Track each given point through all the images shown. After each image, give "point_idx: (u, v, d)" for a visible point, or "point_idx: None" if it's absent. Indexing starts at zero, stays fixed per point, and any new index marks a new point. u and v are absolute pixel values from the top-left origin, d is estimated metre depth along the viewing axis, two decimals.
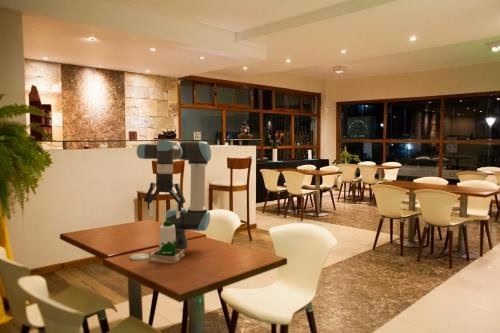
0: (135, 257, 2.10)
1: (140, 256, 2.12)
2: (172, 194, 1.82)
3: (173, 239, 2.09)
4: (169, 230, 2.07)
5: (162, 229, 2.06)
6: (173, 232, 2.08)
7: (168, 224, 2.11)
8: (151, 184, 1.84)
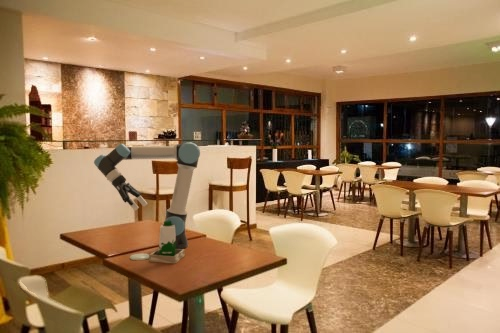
0: (135, 257, 2.10)
1: (140, 256, 2.12)
2: None
3: (173, 239, 2.09)
4: (169, 230, 2.07)
5: (162, 229, 2.06)
6: (173, 232, 2.08)
7: (168, 224, 2.11)
8: None
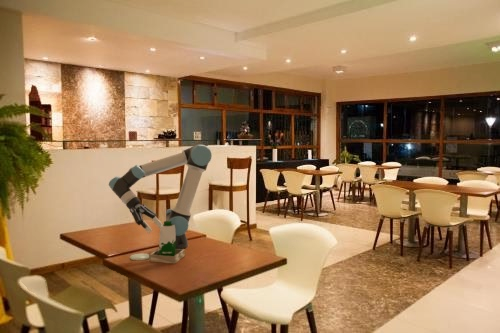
0: (135, 257, 2.10)
1: (140, 256, 2.12)
2: None
3: (173, 239, 2.09)
4: (169, 230, 2.07)
5: (162, 229, 2.06)
6: (173, 232, 2.08)
7: (168, 224, 2.11)
8: None
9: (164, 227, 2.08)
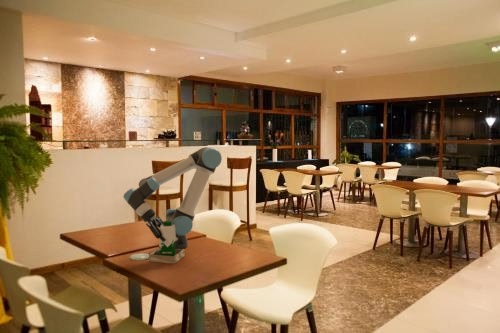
0: (135, 257, 2.10)
1: (140, 256, 2.12)
2: None
3: (173, 239, 2.09)
4: (169, 230, 2.07)
5: (162, 229, 2.06)
6: (173, 232, 2.08)
7: (168, 224, 2.11)
8: None
9: (164, 227, 2.08)
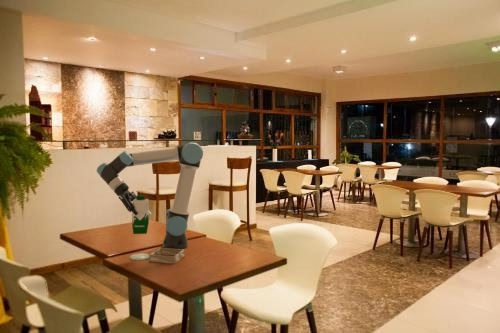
0: (135, 257, 2.10)
1: (140, 256, 2.12)
2: None
3: (146, 213, 2.08)
4: (142, 204, 2.07)
5: (134, 202, 2.06)
6: (145, 206, 2.07)
7: (141, 198, 2.11)
8: None
9: (137, 201, 2.07)
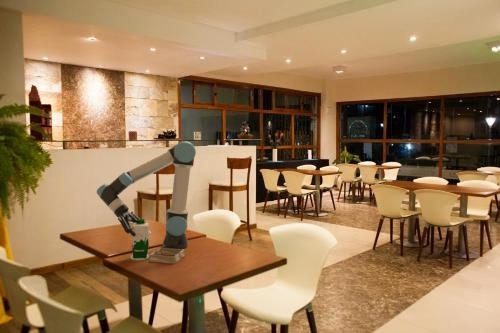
0: None
1: None
2: None
3: (146, 237, 2.09)
4: (141, 228, 2.07)
5: (134, 227, 2.07)
6: (145, 230, 2.08)
7: (141, 222, 2.11)
8: None
9: (137, 225, 2.08)
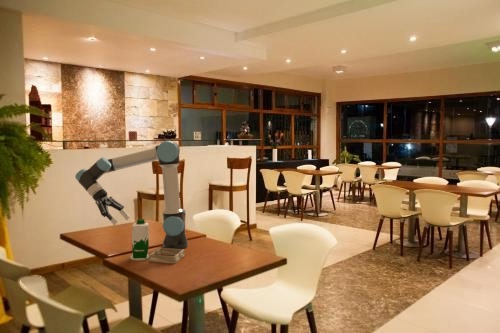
0: None
1: None
2: None
3: (146, 237, 2.09)
4: (141, 228, 2.08)
5: (134, 227, 2.07)
6: (145, 230, 2.08)
7: (141, 222, 2.12)
8: None
9: (137, 225, 2.08)
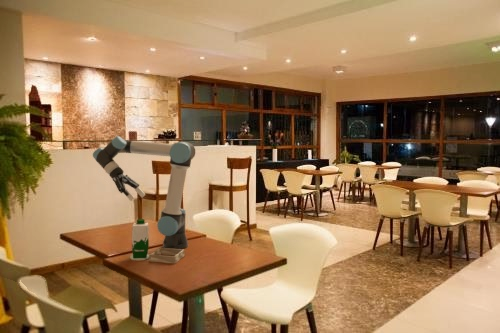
0: None
1: None
2: None
3: (146, 237, 2.09)
4: (141, 228, 2.08)
5: (134, 227, 2.07)
6: (145, 230, 2.08)
7: (141, 222, 2.12)
8: None
9: (137, 225, 2.08)
